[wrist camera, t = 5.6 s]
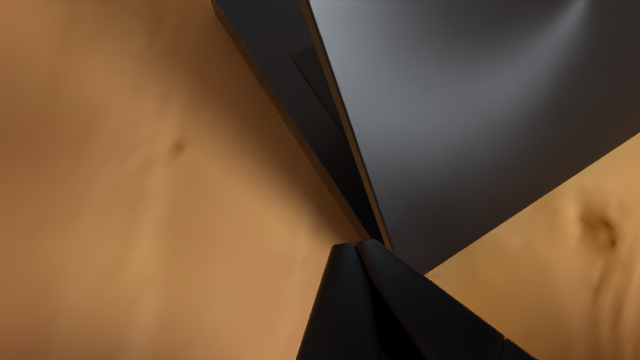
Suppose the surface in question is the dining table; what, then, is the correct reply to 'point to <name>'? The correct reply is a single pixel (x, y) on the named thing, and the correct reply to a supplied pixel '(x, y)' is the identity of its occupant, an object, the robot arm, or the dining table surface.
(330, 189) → the laptop
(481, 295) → the dining table surface
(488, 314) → the dining table surface
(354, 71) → the laptop screen
